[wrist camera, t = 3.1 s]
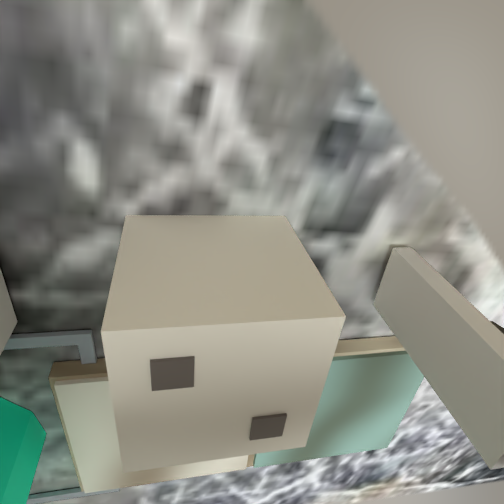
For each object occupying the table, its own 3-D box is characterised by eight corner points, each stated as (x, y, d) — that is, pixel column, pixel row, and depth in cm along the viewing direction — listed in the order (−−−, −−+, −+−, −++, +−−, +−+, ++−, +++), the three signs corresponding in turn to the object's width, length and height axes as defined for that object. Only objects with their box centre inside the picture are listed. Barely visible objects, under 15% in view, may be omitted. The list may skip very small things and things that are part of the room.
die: (137, 334, 13) (123, 476, 9) (126, 213, 11) (99, 335, 7) (266, 326, 15) (305, 449, 10) (284, 214, 12) (347, 318, 8)
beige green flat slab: (84, 476, 17) (80, 496, 17) (53, 362, 13) (46, 382, 12) (381, 433, 21) (389, 449, 20) (430, 333, 17) (443, 347, 16)
